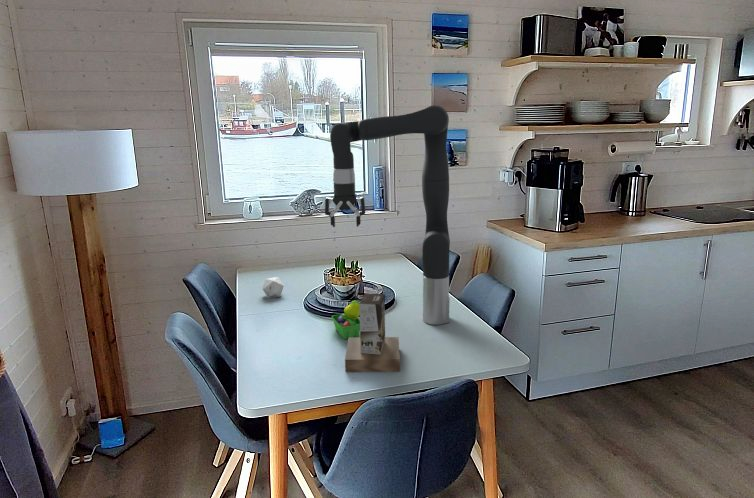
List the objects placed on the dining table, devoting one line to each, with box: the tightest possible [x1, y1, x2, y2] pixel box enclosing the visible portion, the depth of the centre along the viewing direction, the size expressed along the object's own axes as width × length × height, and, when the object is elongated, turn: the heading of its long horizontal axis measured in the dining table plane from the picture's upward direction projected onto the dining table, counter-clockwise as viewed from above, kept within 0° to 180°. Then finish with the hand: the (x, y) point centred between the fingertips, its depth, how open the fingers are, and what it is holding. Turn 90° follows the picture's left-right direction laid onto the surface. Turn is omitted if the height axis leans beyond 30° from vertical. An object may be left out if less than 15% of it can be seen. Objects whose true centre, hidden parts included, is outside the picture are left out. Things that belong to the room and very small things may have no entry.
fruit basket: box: [331, 300, 360, 340], centre depth 175 cm, size 11×9×11 cm
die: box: [262, 276, 284, 299], centre depth 212 cm, size 8×9×10 cm
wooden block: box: [344, 336, 401, 373], centre depth 156 cm, size 16×15×4 cm
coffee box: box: [359, 293, 386, 355], centre depth 154 cm, size 9×6×16 cm
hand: (345, 226), depth 183 cm, fingers open, 8 cm apart
